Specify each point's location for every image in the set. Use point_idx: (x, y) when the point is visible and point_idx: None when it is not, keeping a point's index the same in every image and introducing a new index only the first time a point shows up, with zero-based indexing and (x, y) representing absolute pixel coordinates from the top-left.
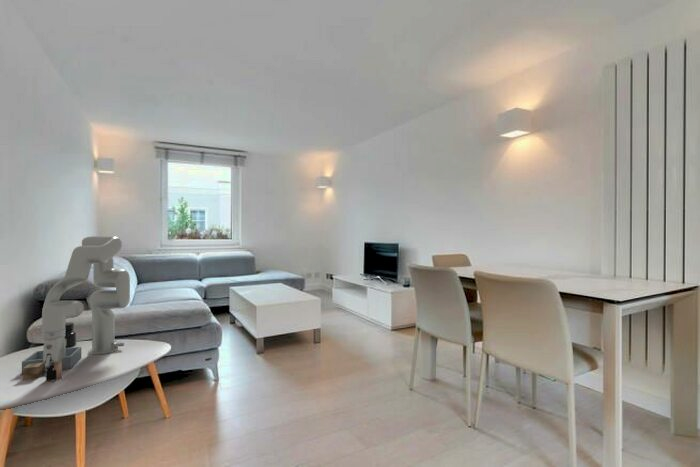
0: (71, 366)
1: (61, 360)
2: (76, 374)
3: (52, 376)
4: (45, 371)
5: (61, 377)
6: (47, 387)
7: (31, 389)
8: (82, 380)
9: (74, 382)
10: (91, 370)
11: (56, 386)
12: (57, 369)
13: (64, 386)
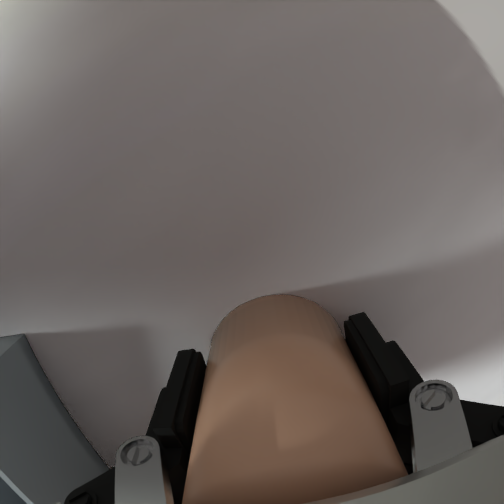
0: (7, 343)
1: (18, 452)
2: (160, 179)
3: (400, 349)
4: (108, 469)
5: (258, 300)
6: (477, 281)
7: (465, 375)
8: (375, 13)
9: (421, 73)
10: (62, 80)
11: (481, 210)
12: (352, 383)
13: (492, 133)
